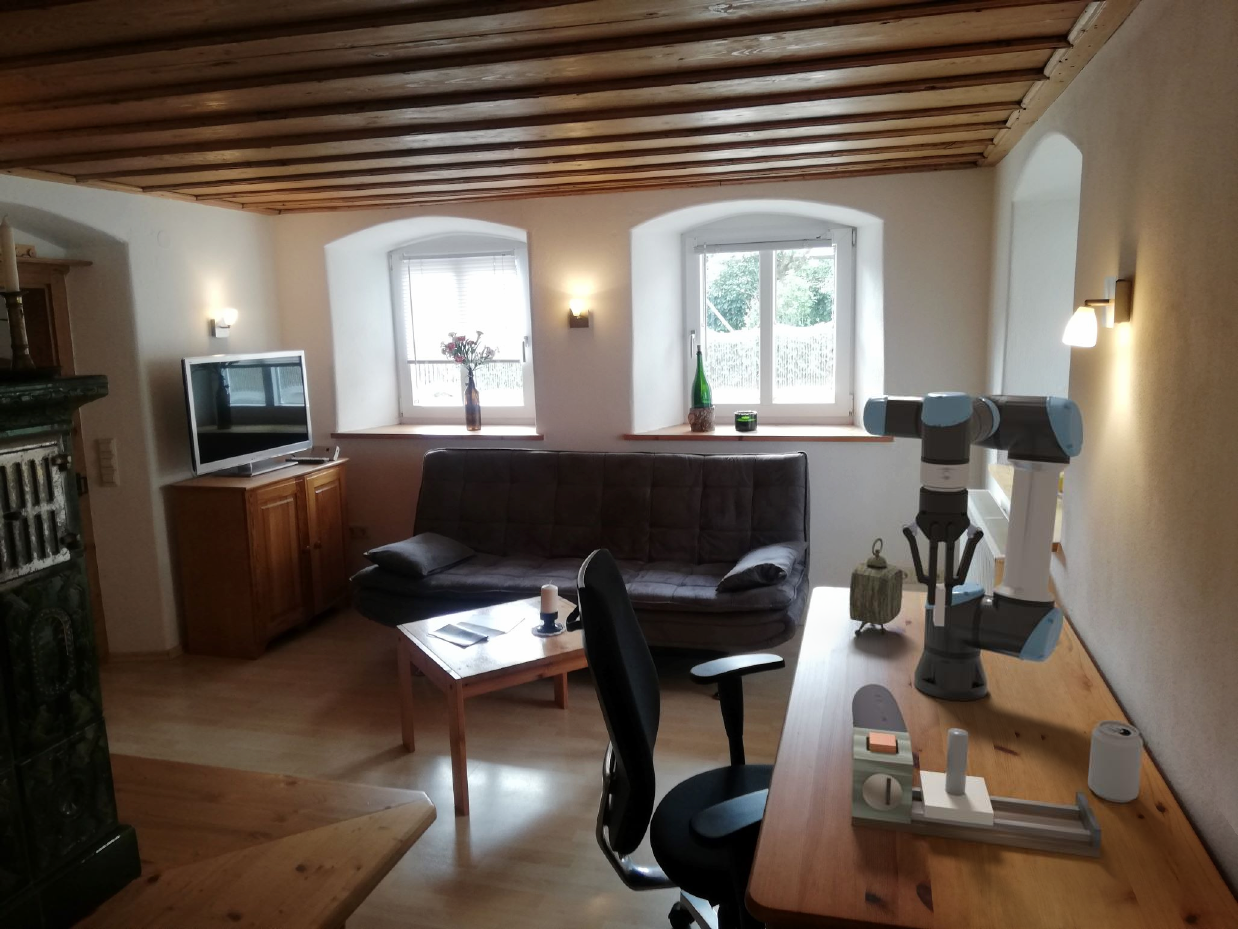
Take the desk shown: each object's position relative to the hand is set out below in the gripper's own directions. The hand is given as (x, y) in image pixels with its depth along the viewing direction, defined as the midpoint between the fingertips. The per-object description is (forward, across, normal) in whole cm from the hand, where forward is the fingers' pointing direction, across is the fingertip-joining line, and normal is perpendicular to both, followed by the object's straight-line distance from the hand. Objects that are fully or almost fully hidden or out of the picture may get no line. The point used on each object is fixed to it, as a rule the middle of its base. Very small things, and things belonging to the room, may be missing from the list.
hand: (938, 623), depth 148 cm
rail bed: (+29, +4, -12) cm, 32 cm away
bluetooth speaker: (+30, -9, +7) cm, 32 cm away
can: (+30, +29, +4) cm, 42 cm away
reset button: (+19, -9, -11) cm, 24 cm away
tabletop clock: (+31, -8, +75) cm, 82 cm away
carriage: (+26, +2, -12) cm, 29 cm away
